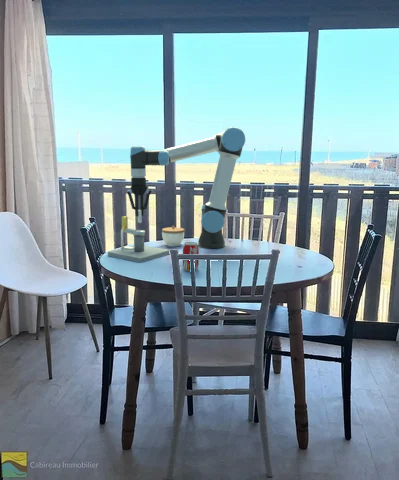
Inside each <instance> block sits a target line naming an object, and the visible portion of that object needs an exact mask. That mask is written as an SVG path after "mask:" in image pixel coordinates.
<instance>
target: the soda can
mask: <svg viewBox="0 0 399 480" xmlns="http://www.w3.org/2000/svg"><path fill="white" fill-rule="evenodd" d="M199 248H200V246H198V242H194V241H186V242H184V244H183V247H182V255H183V254H199V255H200V252H199V251H200V250H199ZM199 262H200V260H195V261H194V263H195V271H197V270H198V269H199V264H200V263H199ZM182 269H183V270H185V271H186V272H191V271H190V261H189V260H183V259H182ZM195 271H194V272H195Z"/></svg>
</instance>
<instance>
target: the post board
mask: <svg viewBox="0 0 399 480" xmlns="http://www.w3.org/2000/svg"><path fill="white" fill-rule="evenodd" d="M124 245H125V244H124V232H123V229H122V228H121V229H120V248H119V249H115V250H110V251H107V256H108V257H112V258H118V259H122V260H127V261H131V262H135V263H144V262H147V261H151V260H153V259H158V258H160V257H164V255H165V256H167V255H170V254H169V250H170V249H165V248H159V247H154V246H150V245H145V235H144V236H134V235H133V245H129V246H127V245H126V246H124Z"/></svg>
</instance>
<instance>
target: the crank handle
mask: <svg viewBox="0 0 399 480" xmlns="http://www.w3.org/2000/svg"><path fill="white" fill-rule="evenodd" d="M128 219H129V217H128V216H127V215H125V216H124V215H122V216H121V229H123V234H124V233H125V234H129V235H132V236H133V237H134V236H144V237H145V236H146V230H144V229H133V228H128V227H129V226H128V225H129V222H128V221H129V220H128Z"/></svg>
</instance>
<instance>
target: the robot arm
mask: <svg viewBox="0 0 399 480" xmlns="http://www.w3.org/2000/svg"><path fill="white" fill-rule="evenodd" d="M245 143H246V134H245V133H244V131H243V130H242V129H240V128H239V127H236V126H230V127H227V128H225V129H224V131H222V132H220V133H217V134H214V135H213V136H212V137H209V138H205V139H201V140H197V141H193V142H189V143H185V144H179V145H177V146H173V147H168V148H165V149H161V150H147V149H146V147H145V146H143V145H142V146H135V145H134V146H131V147H130V156H129V158H130V177H131V178H130V179H131V180H130V185H131V186H130V189H128V190H126V194H127V195H128V199H129V203H130V205H131V209H133V210H135V217H137V223H139V224H142V222H143V221H142V218H143V217H144V210H146V209H148V205H149V200H150V195H151V193H152V190H150V189H148V187H147V178H146V176H147V173H146V169H147V168H146V166H161V167H162V166H169V164H170V163H174V162H177V161H183V160H186V159H190V158H194V157H198V156H202V155H206V154H211V153H215V152H217V153H218V154H219V159H218V161H217V162H218V163H217V167H216V171H215V174H214V179H213V184H212V187H211V191H210V196H209V200H208V201H207V202H206V203H205V204H203V205H202V206H201V221H200V224H201V230H200V231H201V232H200V235H199V239H198V242H197V245H198V247H199V248H206V249H221V248H224V247H226V241H225V238H224V233H223V228H224V227H225V219H226V214H227V211H228V208H227V207H226V202H227V198H228V196H229V195H228V194H229V189H230V186H231V183H232V178H233V175H234V170H235V167H236V163H237V160H238V159H239V158H241V156H242V151H243V147H244V145H245ZM132 194H133V195H134V198H133V195H132ZM144 195H145V198H144Z"/></svg>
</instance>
